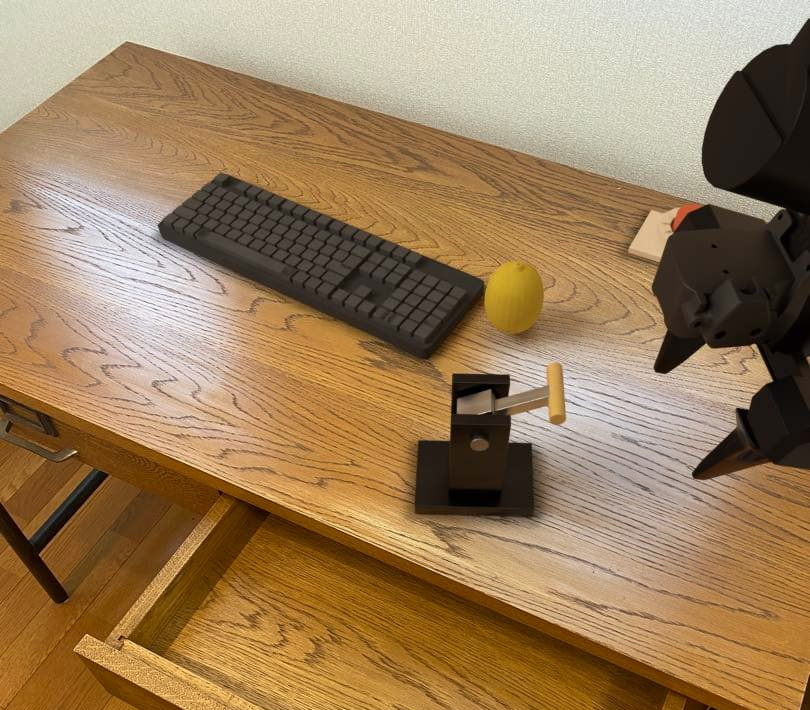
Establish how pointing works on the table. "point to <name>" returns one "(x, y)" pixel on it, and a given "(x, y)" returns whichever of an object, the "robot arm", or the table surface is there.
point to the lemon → (514, 297)
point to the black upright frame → (475, 461)
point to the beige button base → (653, 235)
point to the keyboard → (325, 263)
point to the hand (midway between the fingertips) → (677, 422)
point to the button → (683, 214)
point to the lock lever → (521, 399)
